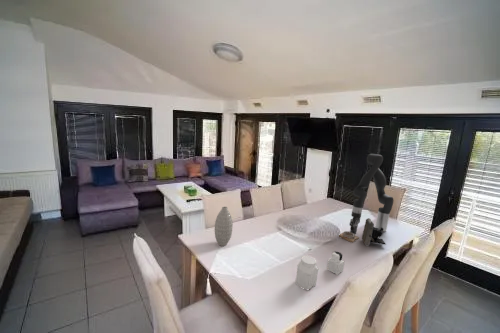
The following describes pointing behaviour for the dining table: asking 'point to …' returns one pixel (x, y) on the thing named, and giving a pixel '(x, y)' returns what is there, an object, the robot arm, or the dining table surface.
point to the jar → (307, 272)
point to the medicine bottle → (336, 263)
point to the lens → (354, 228)
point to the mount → (348, 236)
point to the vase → (223, 227)
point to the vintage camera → (371, 233)
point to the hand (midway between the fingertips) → (353, 228)
